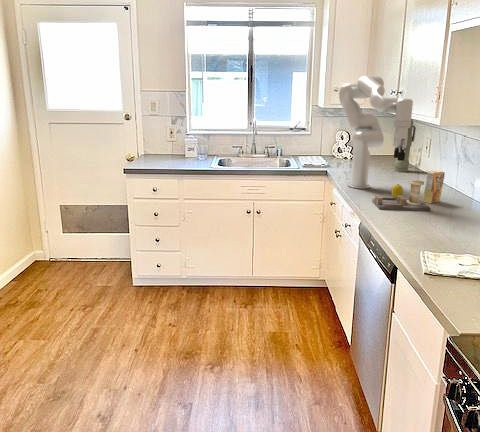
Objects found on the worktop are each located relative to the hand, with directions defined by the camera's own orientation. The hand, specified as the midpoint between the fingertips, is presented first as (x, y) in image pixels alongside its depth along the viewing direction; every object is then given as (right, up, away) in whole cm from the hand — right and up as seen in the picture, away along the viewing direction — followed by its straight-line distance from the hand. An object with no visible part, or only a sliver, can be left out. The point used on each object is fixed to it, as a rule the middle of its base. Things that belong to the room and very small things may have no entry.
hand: (398, 159), depth 229 cm
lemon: (+1, -20, +7) cm, 21 cm away
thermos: (+29, +2, +79) cm, 85 cm away
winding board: (-2, -24, -7) cm, 25 cm away
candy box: (+18, -21, +3) cm, 28 cm away
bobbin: (+4, -23, -7) cm, 24 cm away
